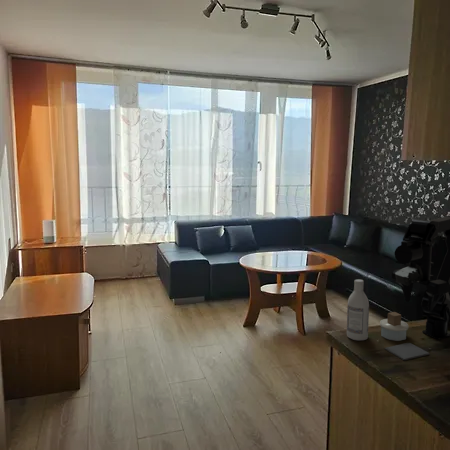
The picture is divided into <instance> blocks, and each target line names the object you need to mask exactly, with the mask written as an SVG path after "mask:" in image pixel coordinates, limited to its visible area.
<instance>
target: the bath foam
mask: <svg viewBox="0 0 450 450" xmlns="http://www.w3.org/2000/svg"><path fill="white" fill-rule="evenodd" d="M353 283H354V284H353V285H354V287H353V291H352V293H351V294H350V295H349V297H348V299H347V306H346V307H347V309H346V311H347V312H346V316H347V317H346V336H347V337H348V338H349V339H351V340H354V341H358V342H359V341H365V340H367V339H368V338H369V319H370V303H369V302H370V301H369V299H368V296H367V295H366V293H365V291H364V284H365V282H364V280H363V279H359V278H358V279H354V282H353Z"/></svg>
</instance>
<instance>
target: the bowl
mask: <svg viewBox="0 0 450 450" xmlns="http://www.w3.org/2000/svg"><path fill="white" fill-rule="evenodd" d="M380 328H381V329H380V330H381V331H380V332H381V334H380V335H381V337H383V338H385V339H386V340H389V341H396V342H400V341H404V340H406V339H407V330H406V331H391V330H387V329H384V328H382V327H381V326H380Z"/></svg>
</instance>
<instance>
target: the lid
mask: <svg viewBox="0 0 450 450" xmlns="http://www.w3.org/2000/svg"><path fill="white" fill-rule="evenodd" d="M379 326H380V328H381V327H382V328H384V329H387V330H391V331H406V332H407V331H408V330H409V324H408V323H407V322H406V321H404V320H402V314H400V313H398V312H396V311H391V312H387V318H384V319H381V320H380V321H379Z"/></svg>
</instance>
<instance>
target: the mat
mask: <svg viewBox="0 0 450 450" xmlns="http://www.w3.org/2000/svg"><path fill="white" fill-rule="evenodd" d="M384 350H385V351H387V352H388V353H390V354H392V355H394V356H395V357H397V358H399V359H401V360H403V361H408V360H412V359H417V358H419V357H420V358H421V357H425V356H428V355H429V356H430V352H428V351H426V350H424V349H423V348H421V347H419V346H417V345H414V344H413V343H411V342H406V343H405V342H404V343H401V344H396V345H392V346H388V347H386V346H385V347H384Z"/></svg>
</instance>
